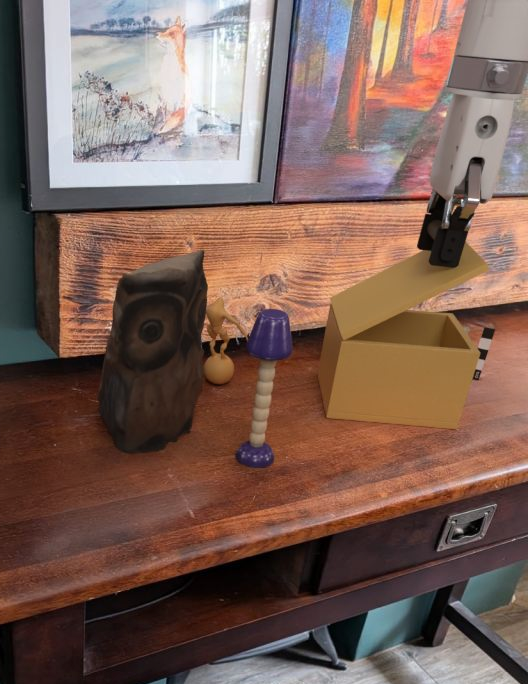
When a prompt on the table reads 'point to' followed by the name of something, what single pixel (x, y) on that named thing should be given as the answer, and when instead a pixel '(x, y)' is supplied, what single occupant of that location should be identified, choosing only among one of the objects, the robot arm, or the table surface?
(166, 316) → the owl
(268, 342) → the toy lamp
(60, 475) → the table surface
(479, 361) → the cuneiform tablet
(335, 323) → the chest
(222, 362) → the figurine
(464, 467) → the table surface
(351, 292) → the lid
